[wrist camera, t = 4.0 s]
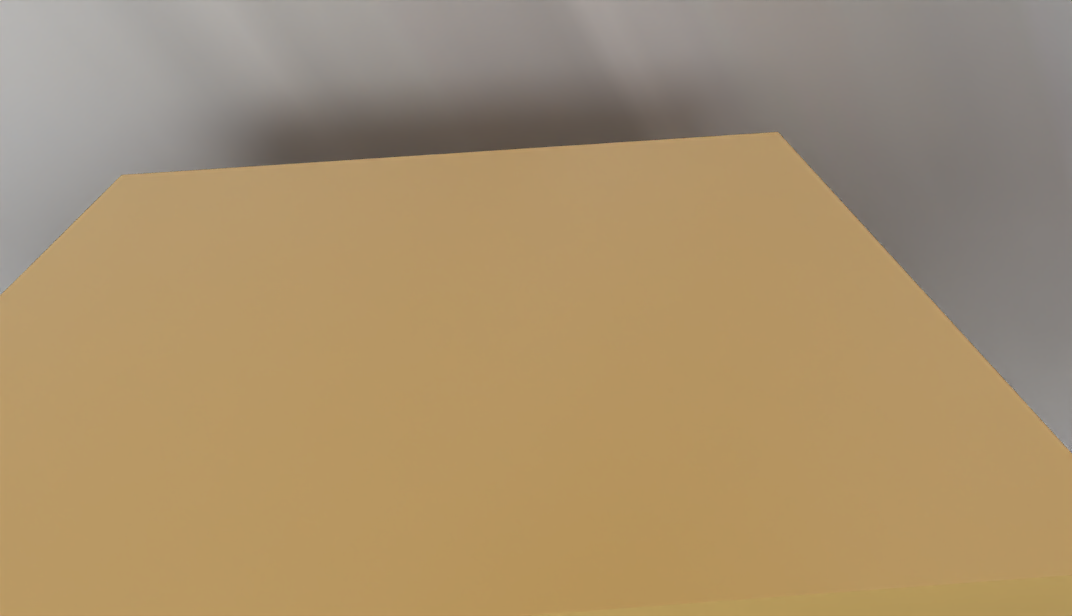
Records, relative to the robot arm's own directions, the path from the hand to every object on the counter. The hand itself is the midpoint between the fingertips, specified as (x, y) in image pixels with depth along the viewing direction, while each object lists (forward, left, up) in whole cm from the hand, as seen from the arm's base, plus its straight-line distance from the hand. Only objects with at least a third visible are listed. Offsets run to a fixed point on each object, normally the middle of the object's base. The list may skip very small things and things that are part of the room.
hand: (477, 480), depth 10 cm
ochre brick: (0, 0, -1) cm, 1 cm away
